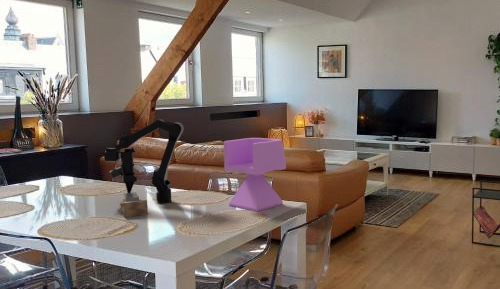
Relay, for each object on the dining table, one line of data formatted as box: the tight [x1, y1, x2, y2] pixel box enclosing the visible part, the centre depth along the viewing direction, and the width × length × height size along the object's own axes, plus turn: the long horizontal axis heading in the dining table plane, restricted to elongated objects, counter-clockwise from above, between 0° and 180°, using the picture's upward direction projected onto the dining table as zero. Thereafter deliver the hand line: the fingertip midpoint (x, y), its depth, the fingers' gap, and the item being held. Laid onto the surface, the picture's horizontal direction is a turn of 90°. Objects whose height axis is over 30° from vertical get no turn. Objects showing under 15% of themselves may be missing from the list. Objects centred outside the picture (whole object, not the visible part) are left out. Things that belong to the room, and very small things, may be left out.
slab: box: [122, 191, 140, 202], centre depth 230 cm, size 6×12×2 cm, turn 20°
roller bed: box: [119, 197, 142, 216], centre depth 225 cm, size 10×22×4 cm, turn 19°
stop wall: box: [122, 199, 149, 218], centre depth 215 cm, size 10×2×6 cm, turn 109°
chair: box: [223, 137, 287, 213], centre depth 227 cm, size 20×20×30 cm
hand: (128, 193), depth 240 cm, fingers closed
